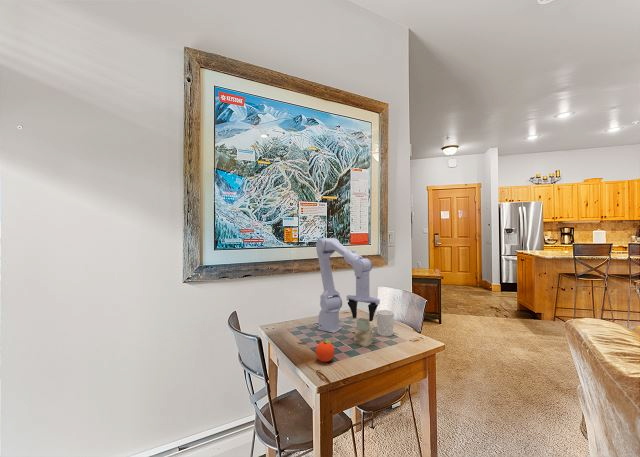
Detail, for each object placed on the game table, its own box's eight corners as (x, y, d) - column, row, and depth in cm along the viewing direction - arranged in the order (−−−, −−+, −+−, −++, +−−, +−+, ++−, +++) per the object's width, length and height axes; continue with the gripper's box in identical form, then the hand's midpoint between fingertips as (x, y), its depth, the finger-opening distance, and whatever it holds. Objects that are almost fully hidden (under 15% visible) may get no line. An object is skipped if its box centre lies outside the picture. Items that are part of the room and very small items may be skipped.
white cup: (394, 337, 130) (394, 315, 130) (376, 336, 132) (376, 314, 132) (393, 331, 138) (393, 310, 138) (376, 330, 140) (376, 309, 140)
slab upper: (355, 338, 123) (354, 330, 123) (358, 333, 128) (358, 326, 128) (369, 339, 121) (369, 332, 121) (372, 335, 126) (372, 328, 126)
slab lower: (353, 344, 124) (353, 337, 124) (360, 339, 129) (360, 332, 129) (366, 347, 120) (366, 340, 121) (373, 342, 125) (372, 335, 125)
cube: (357, 329, 124) (356, 320, 124) (361, 327, 127) (360, 317, 127) (365, 331, 122) (365, 321, 122) (369, 328, 125) (369, 319, 125)
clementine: (325, 354, 113) (325, 335, 113) (340, 359, 109) (339, 340, 109) (311, 361, 107) (311, 342, 107) (326, 367, 103) (326, 346, 103)
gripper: (343, 286, 126) (343, 318, 126) (374, 290, 118) (375, 324, 117) (350, 284, 131) (351, 314, 131) (381, 287, 123) (381, 320, 123)
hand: (362, 319), depth 125 cm, fingers open, 7 cm apart
